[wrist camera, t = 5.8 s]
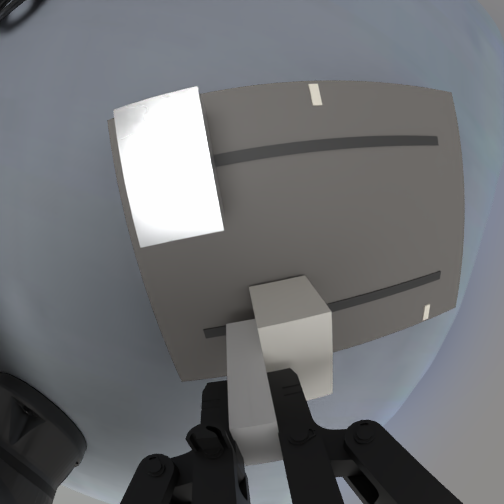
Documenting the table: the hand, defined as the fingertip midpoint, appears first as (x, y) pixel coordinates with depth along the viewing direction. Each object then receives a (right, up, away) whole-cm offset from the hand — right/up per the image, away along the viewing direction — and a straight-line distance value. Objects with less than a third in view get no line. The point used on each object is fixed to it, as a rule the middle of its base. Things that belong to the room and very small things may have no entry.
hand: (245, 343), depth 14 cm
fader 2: (+2, +1, +1) cm, 3 cm away
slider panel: (+4, +7, +3) cm, 9 cm away
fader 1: (-3, +9, -1) cm, 9 cm away
